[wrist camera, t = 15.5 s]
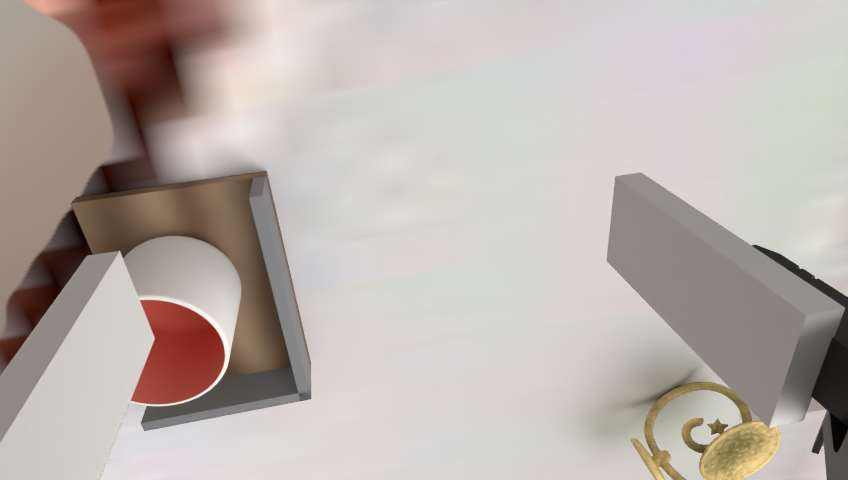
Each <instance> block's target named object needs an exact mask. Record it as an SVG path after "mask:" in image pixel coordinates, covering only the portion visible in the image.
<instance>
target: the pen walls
mask: <svg viewBox="0 0 848 480" xmlns="http://www.w3.org/2000/svg"><path fill="white" fill-rule="evenodd" d="M249 200H250V204H251V208H252V212H253V216H254V220H255V224H256V228H257V232H258V236H259V240H260V244H261V248H262V252H263V256H264V260H265V264H266V267H267V271H268V275H269V279H270V283H271V287H272V291H273V295H274V299H275V303H276V307H277V311H278V315H279V319H280V323H281V327H282V331H283V334H284V338H285V342H286V346H287V350H288V354H289V358H290V362H291V366H289V367H284V368H278V369H273V370H267V371H262V372H257V373H251V374H246V375H240V376H235V377H229V378H224V379H220V381H219V382H218V383H217V384H216V385H215V386H214V387H213V388H212V389H211V390H209V391H208V392H206V393H205V394H203V395H202V396H200V397H198V398H196V399H193V400H191V401H188V402H185V403H181V404H176V405H170V406H147V407H146V410H145V413H144V416H143V419H142V421H141V425H142V427H143V429H144V431H147V430H153V429H158V428H163V427H168V426H173V425H179V424H184V423H189V422H194V421H199V420H204V419H210V418H215V417H220V416H225V415H230V414H236V413H241V412H246V411H251V410H256V409H262V408H267V407H272V406H277V405H282V404H288V403H293V402H298V401H303V400H308V399H311V369H310V365H309V361H308V356H307V352H306V348H305V343H304V339H303V335H302V330H301V326H300V322H299V318H298V313H297V309H296V305H295V300H294V296H293V292H292V287H291V283H290V279H289V274H288V270H287V266H286V262H285V257H284V253H283V249H282V244H281V240H280V236H279V231H278V227H277V223H276V218H275V214H274V210H273V206H272V201H271V197H270V193H269V188H268V184H267V180H266V177H258V178H253V182H252V186H251V190H250V194H249Z"/></svg>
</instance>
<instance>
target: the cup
mask: <svg viewBox="0 0 848 480" xmlns="http://www.w3.org/2000/svg"><path fill="white" fill-rule="evenodd" d="M123 260H124V262H125V265H126V267H127V270H128V272H129V275H130V277H131V280H132V282H133V285H134V287H135V290H136V292H137V295H138V297H139V300H140V302H141V305H142V307H143V310H144V312H145V315H146V317H147V320H148V322H149V325H150V327H151V330H152V332H153V335H154V337H155V340H154V342H153V345H152V347H151V350H150V352H149V355H148V357H147V360H146V363H145V365H144V368H143V370H142V373H141V375H140V378H139V380H138V383H137V386H136V388H135V391H134V393H133V396H132V398H131V401H130V403H134V404H139V405H145V406H170V405H176V404H181V403H185V402H188V401H191V400H193V399H196V398H198V397H200V396H202V395H203V394H205V393H206V392H208V391H209V390H211V389H212V388H213V387H214V386H215V385H216V384H217V383H218V382H219V381H220V379H221V378H222V377H223V375H224V373H225V371H226V369H227V366H228V363H229V358H230V353H231V347H232V342H233V337H234V331H235V326H236V321H237V315H238V310H239V305H240V300H241V282H240V278H239V275H238V272H237V270H236V268H235V267H234V265H233V263H232V262H231V261H230V260H229V258H228V257H227V256H226V255H225V254H224V253H222V252H221V251H220V250H219V249H217V248H215V247H214V246H212V245H210V244H208V243H206V242H204V241H202V240H199V239H195V238H191V237H185V236H164V237H159V238H155V239H151V240H149V241H146V242H144V243H142V244H140V245H138V246H137V247H135V248H134V249H132V250H131V251H130V252H129V253H128V254H127V255H126V256H125V257H124V258H123Z"/></svg>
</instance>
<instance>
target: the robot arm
mask: <svg viewBox="0 0 848 480" xmlns="http://www.w3.org/2000/svg"><path fill="white" fill-rule="evenodd" d="M607 262H608V263H609V264H610V265H611V266H612V267H613V268H614V269H615V270H616V271H617V272H618V273H619V274H620V275H621V276H622V277H623V278H624V279H625V280H626V281H627V282H628V283H629V284H630V285H631V287H632V288H633V289H634V290H635V291H636V292H637V293H638V294H639V295H640V296H641V297H642V298H643V299H644V300H645V301H646V302H647V303H648V304H649V305H650V306H651V307H652V308H653V309H654V310H655V311H656V312H657V313H658V314H659V315H660V316H661V317H662V318H663V319H664V321H665V322H666V323H667V324H668V325H669V326H670V327H671V328H672V329H673V330H674V331H675V332H676V333H677V334H678V335H679V336H680V337H681V338H682V339H683V340H684V341H685V342H686V343H687V344H688V345H689V346H690V347H691V348H692V349H693V350H694V351H695V352H696V354H697V355H698V356H699V357H700V358H701V359H702V360H703V361H704V362H705V363H706V364H707V365H708V366H709V367H710V368H711V369H712V370H713V371H714V372H715V373H716V374H717V375H718V376H719V377H720V378H721V379H722V380H723V381H724V382H725V383H726V384H727V385H728V387H729V388H730V389H731V390H732V391H733V392H734V393H735V394H736V395H737V396H738V397H739V398H740V399H741V400H742V401H743V402H744V403H745V404H746V405H747V406H748V407H749V408H750V409H751V410H752V411H753V412H754V413H755V414H756V415H757V416H758V417H759V418H760V420H761V421H762V422H763V423H764V424H765V425H766V426H767V427H768V428H772V427H776V426H781V425H785V424H790V423H794V422H799V421H803V420H804V418H805V415H806V412H807V409H808V407H809V404H810V401H811V399H812V397H813V398H814V399H815V400H817V402H819V403H820V404H821V405H822V406H823V407H824V408H825V409H827V412H826V415H825V417H824V420H823V422H822V425H821V427H820V430H819V432H818V435H817V437H816V440H815V442H814V445H813V449H812V452H813V453H816V454H819V451H820V449H821V446H824V450H825V462H826V474H827V480H848V297H846V296H845V295H843V294H842V293H840V292H839V291H837V290H835V289H834V288H832V287H831V286H829V285H828V284H826V283H824V282H823V281H821V280H820V279H815V276H814V275H812V274H810V273H809V272H807V271H806V270H804V269H799V266H798V265H796V264H795V263H793V262H792V261H790V260H788V259H787V258H785V257H784V256H782V255H781V254H778V253H776V252H773V251H771V250H768V249H765V248H763V247H760V246H757V245H752V246H751V245H750V244H748V243H747V242H745V241H744V240H742V239H741V238H739V237H738V236H736V235H734V234H733V233H731V232H730V231H728V230H727V229H725V228H724V227H722V226H721V225H719V224H718V223H716V222H715V221H713V220H712V219H710V218H709V217H707V216H706V215H704V214H703V213H701V212H700V211H698V210H697V209H695V208H694V207H692V206H691V205H689V204H688V203H686V202H685V201H683V200H682V199H680V198H679V197H677V196H676V195H674V194H673V193H671V192H669V191H668V190H666V189H665V188H663V187H662V186H660V185H659V184H657V183H656V182H654V181H653V180H651V179H650V178H648V177H647V176H645V175H644V174H642V173H635V174H628V175H622V176H615V185H614V195H613V205H612V214H611V224H610V233H609V243H608V253H607ZM154 340H155V337H154V335H153V332H152V330H151V327H150V325H149V322H148V320H147V317H146V315H145V312H144V310H143V307H142V305H141V302H140V300H139V297H138V295H137V292H136V290H135V287H134V285H133V282H132V280H131V277H130V275H129V272H128V270H127V267H126V265H125V262H124V260H123V257H122V255H121V252H120V251H115V252H109V253H102V254H95V255H89V256H86V258H85V259H84V261H83V262H82V263H81V265H80V266H79V268H78V269H77V270H76V272H75V273H74V274H73V276H72V277H71V279H70V280H69V281H68V283H67V284H66V286H65V287H64V288H63V290H62V291H61V293H60V294H59V295H58V297H57V298H56V299H55V301H54V302H53V304H52V305H51V306H50V308H49V309H48V311H47V312H46V313H45V315H44V316H43V317H42V319H41V320H40V322H39V323H38V324H37V326H36V327H35V329H34V330H33V331H32V333H31V334H30V336H29V337H28V338H27V340H26V341H25V342H24V344H23V345H22V347H21V348H20V349H19V351H18V352H17V354H16V355H15V356H14V358H13V359H12V361H11V362H10V363H9V365H8V366H7V367H6V369H5V370H4V372H3V373H2V374H1V376H0V480H100V478H101V475H102V473H103V470H104V467H105V465H106V462H107V460H108V457H109V455H110V452H111V450H112V447H113V444H114V442H115V439H116V437H117V434H118V432H119V429H120V427H121V424H122V421H123V419H124V416H125V414H126V411H127V409H128V406H129V403H130V401H131V398H132V396H133V393H134V391H135V388H136V386H137V383H138V380H139V378H140V375H141V373H142V370H143V368H144V365H145V363H146V360H147V357H148V355H149V352H150V350H151V347H152V345H153V342H154Z"/></svg>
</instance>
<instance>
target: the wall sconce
mask: <svg viewBox="0 0 848 480" xmlns="http://www.w3.org/2000/svg"><path fill="white" fill-rule="evenodd" d="M696 390H711V391H716V392H719V393H722V394H724V395H725V396H727V397H729V398H730V399H731V400H732V401H733V402H734V403H735V404H736V406H737V407H738V408H739V410H740V412H741V415H742V420H743V422H742V423H741V424H738V425H736V426H734V427H732V428H730V429H728V430H726V431H724V430H723V429H725V428H726V427H727V426H728V425H725V424H721V423H720V421H719V420H718V419H717V420H716V421H715V423H714V424H707V425H708V426H709V427H710V428H711V429H712V431H711V435H713V434H715V433H719V434H720V435H719V436H718V437H716V438H715V439H714V440H713V441H712V442H711V443H710V444H709V445H701V444H698V443H696V442H694V441H693V440H692V438H691V435H690V432H691V429H692V428H694V427H696V426H700V425H702V423H703V418H696V419H692V420H690V421H688V422H687V423H686V424H684V426H683V428H682V437H683V440H684V442H685V444H686V445H687V446H688V447H689V448H691V449H692V450H694V451H696V452H699V453H703V454H702V456H701V459H700V464H699V469H700V473H701V475H702V476H703V478H704V479H705V480H740V479H743V478H745V477H747V476H749V475H751V474H753V473H754V472H756V471H757V470H759V469H760V468H761V467H763V466H764V465H765V464H766V463H767V462H768V461H769V460H770V459H771V458H772V457H773V455H774V454H775V452H776V451H777V449H778V447H779V444H780V440H781V435H780V431H779V429H778V428H777V427H772V428H768V427H767V426H766V425H765V424H764V423H763V422H762V421H752V418H751V414H750V411H749V408H748V407H747V405H746V404H745V403H744V402H743V401H742V400H741V399H740V398H739V397H738V396H737V395H736V394H735V393H734V392H733V391H732V390H731V389H729V388H727V387H725V386H722V385H720V384H716V383H710V382H695V383H689V384H686V385H682V386H680V387H677V388H675V389H673V390H671V391H669V392H667V393H666V394H664V395H663V396H662V397H660V398H659V399H658V400H657V401H656V402H655V404H654V405H653V406H652V408H651V409H650V411H649V413H648V415H647V418H646V421H645V427H644V432H645V438H646V441H647V444H648V446H649V448H650V450H651V452H652V454H653V455H654V456H652V457H651V456H650V454H649V453H648V452H647V450H646V449H645V448H644V446H643V445H642V444H641V443H640V442H639V441H638V440H637V439H635V438H633V439H631V442H632V443H633V445H634V447H635V448H636V450H637V452H638V453H639V455H640V456H641V458H642V459H643V461H644V463H645V464H646V466H647V467H648V469H649V470H650V472H651V473H652V475H653V476H654V478H655V480H665V478H664V476H663V475H662V473H661V471H660V470H659V468H658V467H660V466H661V467H662V468H663V469H664V470H665V472H666V473H667V474H668V475H669V476H670V477H671V478H672V479H673V480H686V479H685V478H684V477H682V476H681V475H680V474H679V473H678V472H677V471H676V470H675V469H674V468H673V467H672V466H671V465H670V464H669V463H668V462H669V461H670V460H671V456H670V454H669V453H668V452H667V451H665V450H663V451H661V452H660V450H659V448H658V446H657V445H656V442H655V440H654V438H653V424H654V420H655V418H656V416H657V414H658V412H659V411H660V409H661V408H662V407H663V406H664V405H665V404H666V403H667V402H669V401H670V400H672V399H673V398H675V397H677V396H679V395H682V394H684V393H687V392H691V391H696Z"/></svg>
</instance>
